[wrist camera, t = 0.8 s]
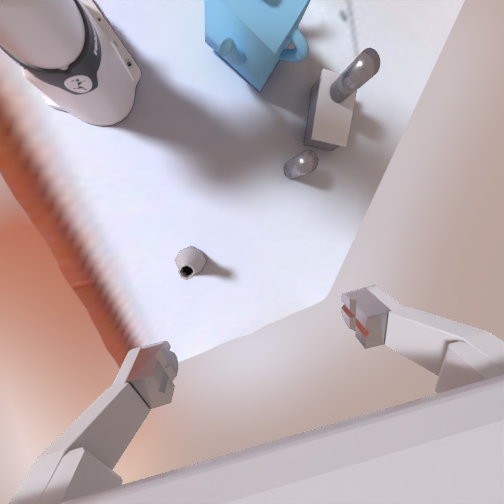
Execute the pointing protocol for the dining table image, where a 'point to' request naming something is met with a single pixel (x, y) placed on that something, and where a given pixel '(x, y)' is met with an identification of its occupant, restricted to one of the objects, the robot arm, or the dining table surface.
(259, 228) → the dining table surface
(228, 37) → the teakettle
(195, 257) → the flask
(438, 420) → the robot arm
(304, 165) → the ball
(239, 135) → the dining table surface
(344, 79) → the cylinder
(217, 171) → the dining table surface
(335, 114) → the scale
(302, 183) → the dining table surface
